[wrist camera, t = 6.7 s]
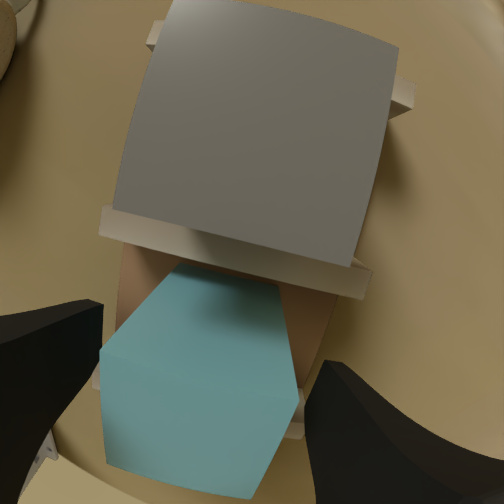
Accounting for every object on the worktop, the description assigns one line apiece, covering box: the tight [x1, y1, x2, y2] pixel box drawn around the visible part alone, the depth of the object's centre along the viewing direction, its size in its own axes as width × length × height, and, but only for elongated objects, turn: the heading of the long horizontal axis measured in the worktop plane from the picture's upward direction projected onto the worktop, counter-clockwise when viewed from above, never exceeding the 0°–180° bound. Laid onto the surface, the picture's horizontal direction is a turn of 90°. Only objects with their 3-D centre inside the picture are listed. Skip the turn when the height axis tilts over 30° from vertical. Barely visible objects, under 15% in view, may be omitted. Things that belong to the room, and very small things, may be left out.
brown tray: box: [92, 20, 416, 440], centre depth 11 cm, size 14×9×3 cm, turn 166°
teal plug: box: [100, 262, 300, 500], centre depth 9 cm, size 4×4×7 cm
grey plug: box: [112, 0, 399, 268], centre depth 8 cm, size 4×4×7 cm
